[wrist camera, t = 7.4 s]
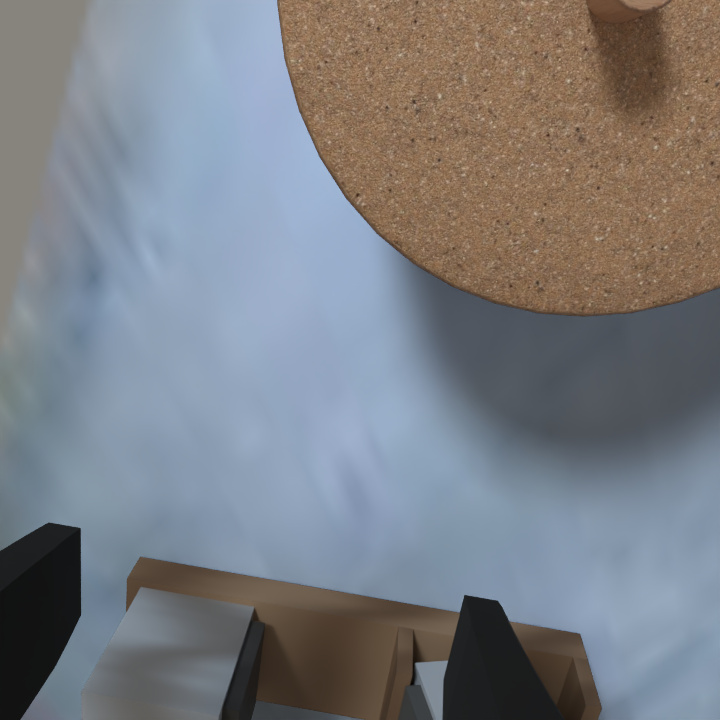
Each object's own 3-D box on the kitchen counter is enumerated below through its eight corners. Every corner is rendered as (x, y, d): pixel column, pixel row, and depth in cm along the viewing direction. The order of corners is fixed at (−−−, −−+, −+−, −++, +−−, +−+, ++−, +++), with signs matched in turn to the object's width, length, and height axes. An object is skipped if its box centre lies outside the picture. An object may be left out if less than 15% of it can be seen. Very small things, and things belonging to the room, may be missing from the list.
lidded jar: (683, 263, 20) (893, 397, 11) (312, 210, 20) (227, 297, 11) (824, -194, 16) (1326, -557, 7) (360, -251, 16) (286, -666, 7)
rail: (579, 633, 25) (623, 782, 19) (549, 725, 26) (581, 886, 21) (140, 556, 25) (64, 681, 20) (136, 651, 27) (66, 790, 21)
